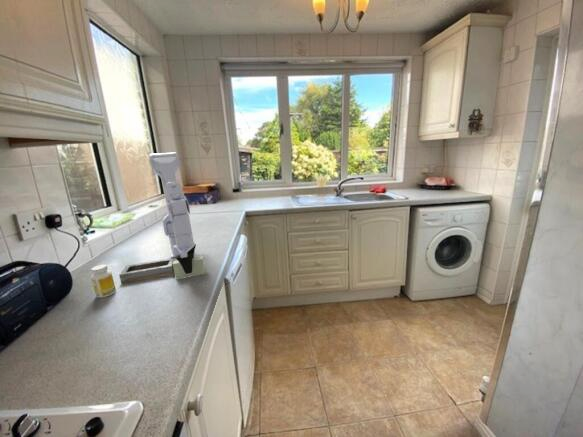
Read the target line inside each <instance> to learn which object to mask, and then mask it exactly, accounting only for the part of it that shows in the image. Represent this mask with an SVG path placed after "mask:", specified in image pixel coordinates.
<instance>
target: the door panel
mask: <svg viewBox="0 0 583 437" xmlns="http://www.w3.org/2000/svg"><path fill="white" fill-rule="evenodd" d="M173 268H174V273H173V274H174V277H175V280H178V279H183V278H184V277H185V278H189V276H190V277H195V275H196V276H201V275H205V274H206V266H205V260H204V256H203V255H200V256H199V255H198V256H194V257H193V260H192V273H188V274H186V273H185V272H184V270H183V267H182V265H181V264H180V263H179V261H177V259H175V261H174V262H173ZM200 274H201V275H200ZM185 278H184V279H185Z"/></svg>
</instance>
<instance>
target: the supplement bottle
mask: <svg viewBox="0 0 583 437" xmlns="http://www.w3.org/2000/svg"><path fill="white" fill-rule="evenodd" d="M91 273H92V274H91V276H90V280H91V283H92V287H93V290H94V293H95V296H96V297H97V298H99V299H101V298H103V299H104V298H107V297H108V296H111V295H113V294H115V293H116V290H117V289H116V284H115V282H114V277H113V274H112V271H111V270H109V269H108V266H107V264H99V265H96V266H94V267H92V268H91Z"/></svg>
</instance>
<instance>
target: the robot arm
mask: <svg viewBox="0 0 583 437" xmlns="http://www.w3.org/2000/svg"><path fill="white" fill-rule="evenodd" d="M148 156H149V160H150V161H149V162H150V166H151V170H152V173H153V174H154V175H157V176H159V178H160V179H161V184H162V190H163V194H164V199H165V202H166V203H165V204H166V209H167V210H166V211H167V214H166V215H164V217H163V218H162V227H163V231H164V232H163V233H164V235H165V236H167V237H168V238H169V244H170V248H171V249H170V250H171V254H170V257H169V258H170V259H171V258H175V260H177V261H179V263H180V264H181V265H182V267H183V270H184V272H185V273H186V274H188V273H192V260H193V257H195V250H196V247H197V244H196V243H195V242H194V237H193V236H194V235H193V231H192V225H191V219H190V214H191V213H190V212H191V209H190V208H191V207H190V204H189V201H188V199H187V197H186V195H185V193H184V190H183V187H182V185H181V183H179V182H177V177H176V173H178V172H179V169H180V160H179V155H178V153H177V152H176V151H174V152H165V153H164V152H161V153H160V152H159V153H150V154H148Z"/></svg>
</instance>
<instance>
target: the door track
mask: <svg viewBox="0 0 583 437" xmlns="http://www.w3.org/2000/svg"><path fill="white" fill-rule="evenodd" d="M175 260H176V257H173V258H171V257H170V258H166V259H159V260H153V261H152V260H151V261H148V262H147V261H146V262H141V263H140V262H139V263H135V264H128V265H125V266H124V268H123V270H122V271H121V272H120V273H119V279H120V283H121V284H126V283H131V282H137V281H142V280H148V279H154V278H158V277H159V278H160V277H165V276H171V275H174V274H175V273H174V268H173V262H174V261H175Z"/></svg>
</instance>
